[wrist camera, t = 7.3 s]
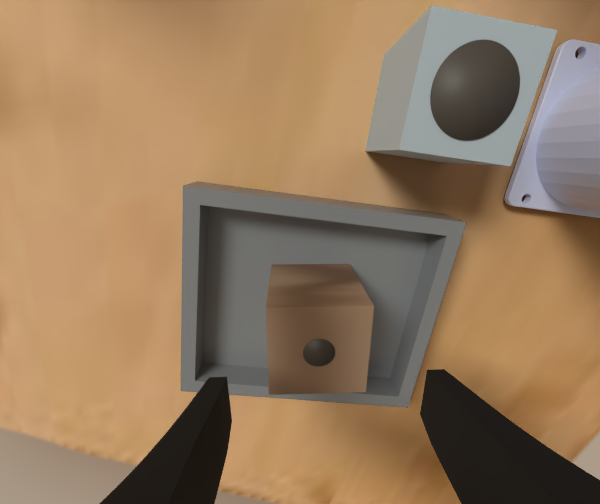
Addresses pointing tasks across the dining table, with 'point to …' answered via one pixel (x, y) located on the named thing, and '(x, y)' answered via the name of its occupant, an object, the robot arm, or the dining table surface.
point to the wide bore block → (458, 88)
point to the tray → (307, 250)
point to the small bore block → (317, 329)
